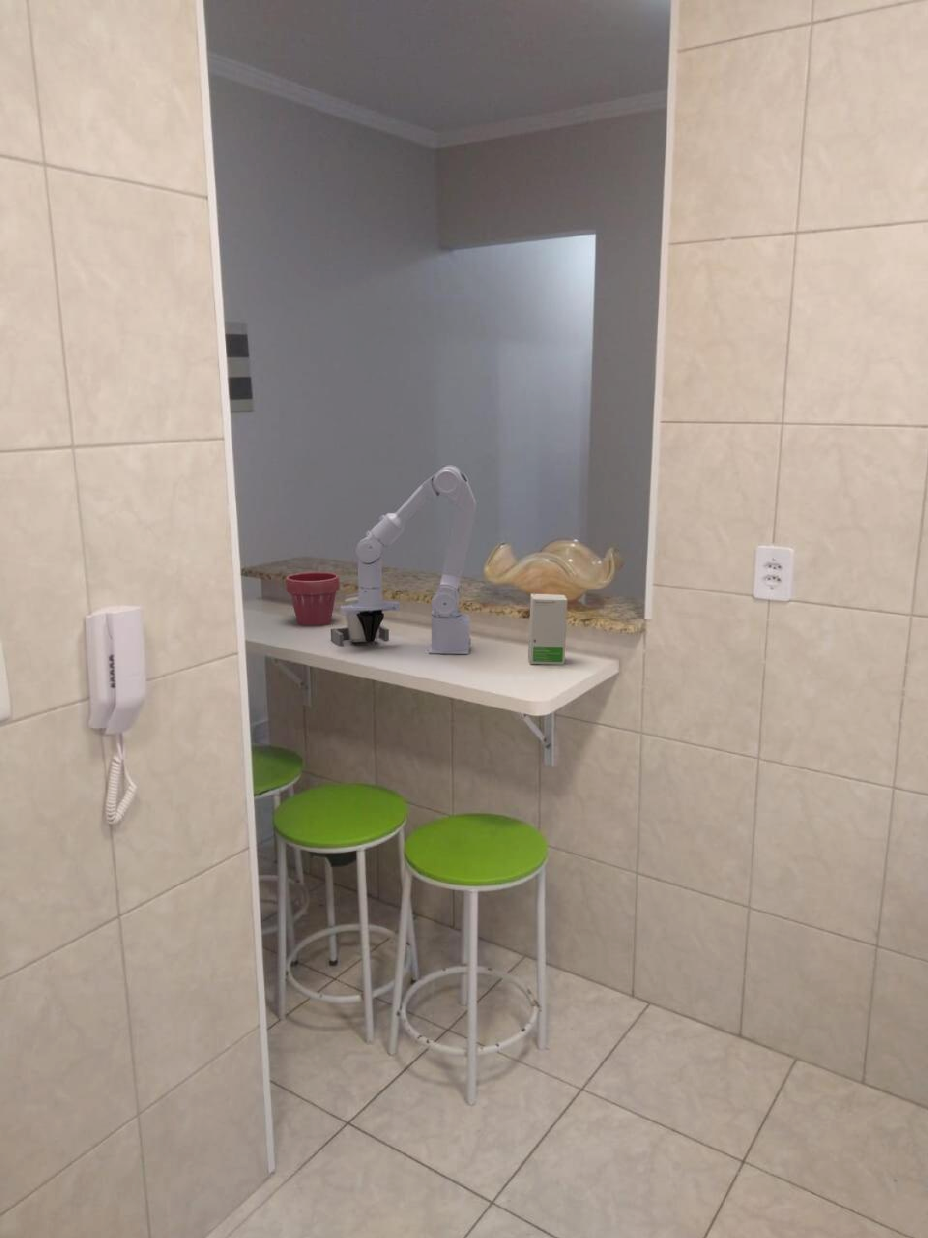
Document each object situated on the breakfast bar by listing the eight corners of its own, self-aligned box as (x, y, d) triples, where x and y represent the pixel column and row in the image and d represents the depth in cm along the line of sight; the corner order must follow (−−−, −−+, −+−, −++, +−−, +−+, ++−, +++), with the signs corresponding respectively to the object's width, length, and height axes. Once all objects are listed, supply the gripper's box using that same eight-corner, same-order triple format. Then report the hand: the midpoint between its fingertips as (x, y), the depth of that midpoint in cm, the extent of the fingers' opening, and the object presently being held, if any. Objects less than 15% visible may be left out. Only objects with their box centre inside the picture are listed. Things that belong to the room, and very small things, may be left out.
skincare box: (529, 665, 218) (531, 599, 215) (527, 657, 225) (528, 593, 221) (566, 665, 218) (568, 599, 215) (562, 657, 225) (564, 593, 221)
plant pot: (284, 618, 262) (282, 572, 259) (335, 614, 266) (333, 570, 264) (291, 630, 249) (289, 582, 246) (344, 626, 253) (343, 579, 250)
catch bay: (388, 640, 239) (388, 629, 238) (339, 646, 233) (339, 634, 232) (379, 634, 244) (379, 623, 244) (331, 640, 239) (330, 628, 238)
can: (374, 640, 231) (368, 591, 231) (345, 643, 233) (339, 595, 232) (383, 637, 239) (377, 590, 238) (355, 641, 240) (349, 594, 240)
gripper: (391, 581, 235) (391, 634, 238) (335, 586, 229) (336, 640, 232) (402, 586, 229) (402, 641, 232) (345, 591, 222) (346, 647, 226)
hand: (370, 641), depth 231 cm, fingers closed, pressing on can
